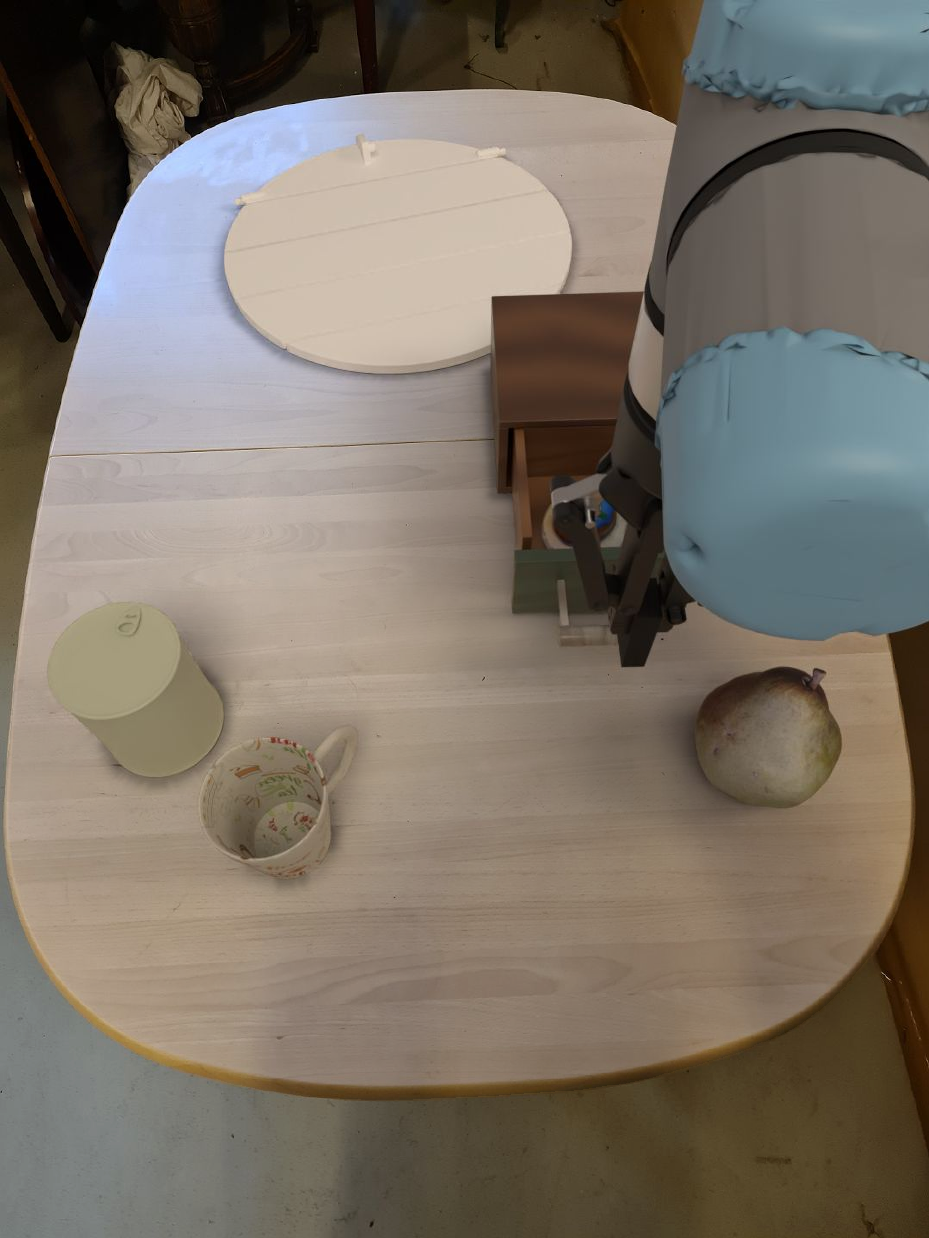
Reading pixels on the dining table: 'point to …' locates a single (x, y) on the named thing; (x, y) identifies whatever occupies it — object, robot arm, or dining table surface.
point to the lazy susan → (393, 253)
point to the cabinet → (557, 363)
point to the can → (136, 688)
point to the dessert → (607, 526)
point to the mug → (273, 803)
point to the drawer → (537, 570)
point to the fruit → (768, 737)
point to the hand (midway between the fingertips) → (630, 648)
